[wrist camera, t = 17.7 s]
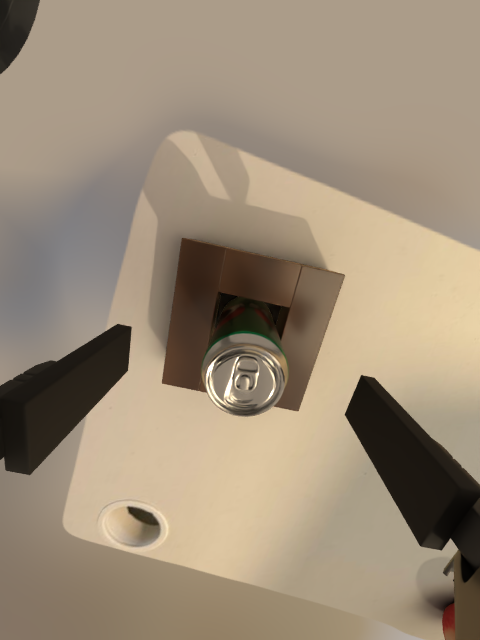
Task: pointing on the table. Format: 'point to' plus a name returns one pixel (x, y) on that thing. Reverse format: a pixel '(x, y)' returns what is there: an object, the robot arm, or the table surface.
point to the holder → (253, 283)
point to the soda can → (245, 360)
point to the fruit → (449, 622)
